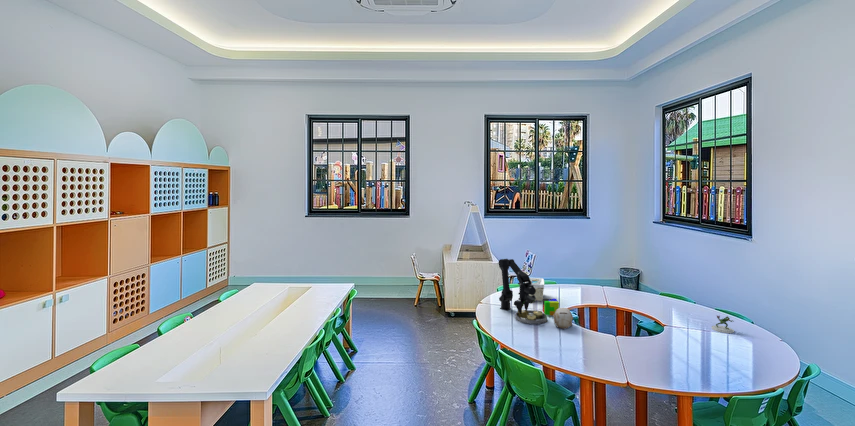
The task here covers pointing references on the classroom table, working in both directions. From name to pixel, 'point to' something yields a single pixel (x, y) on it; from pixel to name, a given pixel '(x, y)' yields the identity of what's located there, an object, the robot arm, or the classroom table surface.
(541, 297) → the storage basket
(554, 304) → the puzzle toy
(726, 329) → the monster figurine
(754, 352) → the classroom table surface
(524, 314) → the planet gear
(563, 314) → the coin bank
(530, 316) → the tray
